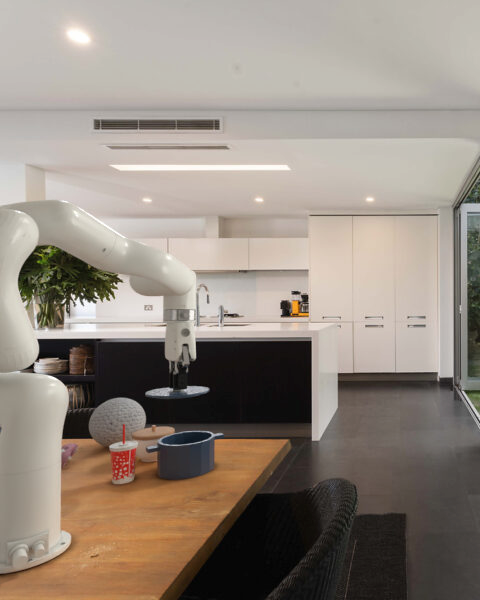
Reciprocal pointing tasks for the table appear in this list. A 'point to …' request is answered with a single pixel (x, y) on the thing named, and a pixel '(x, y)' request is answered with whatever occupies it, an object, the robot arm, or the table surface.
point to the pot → (185, 454)
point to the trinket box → (149, 441)
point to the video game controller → (67, 453)
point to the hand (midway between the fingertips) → (178, 388)
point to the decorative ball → (116, 421)
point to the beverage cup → (123, 460)
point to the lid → (177, 392)
